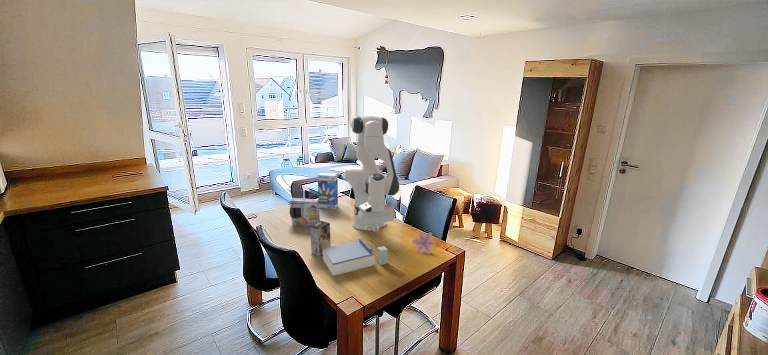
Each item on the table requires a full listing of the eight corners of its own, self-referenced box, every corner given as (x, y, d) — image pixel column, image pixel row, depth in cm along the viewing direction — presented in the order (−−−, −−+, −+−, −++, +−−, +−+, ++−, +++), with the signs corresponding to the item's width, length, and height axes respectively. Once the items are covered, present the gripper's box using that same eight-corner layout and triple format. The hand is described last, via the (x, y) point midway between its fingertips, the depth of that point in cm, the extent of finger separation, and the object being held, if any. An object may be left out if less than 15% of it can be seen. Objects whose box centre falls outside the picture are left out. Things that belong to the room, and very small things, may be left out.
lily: (408, 249, 179) (409, 239, 172) (421, 236, 185) (422, 226, 178) (426, 261, 174) (427, 252, 167) (438, 247, 180) (440, 238, 173)
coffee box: (322, 246, 178) (321, 220, 174) (331, 249, 175) (330, 222, 171) (310, 252, 171) (309, 225, 166) (319, 256, 168) (318, 228, 163)
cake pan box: (290, 224, 205) (288, 199, 200) (293, 221, 210) (291, 196, 205) (317, 227, 202) (316, 201, 197) (320, 224, 206) (319, 199, 202)
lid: (361, 241, 172) (361, 236, 171) (374, 254, 158) (374, 249, 157) (322, 249, 162) (322, 245, 161) (332, 264, 148) (332, 259, 148)
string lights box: (318, 208, 234) (317, 174, 227) (321, 204, 242) (320, 172, 235) (335, 209, 232) (334, 175, 225) (338, 205, 240) (337, 173, 233)
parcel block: (383, 259, 166) (384, 245, 163) (387, 263, 162) (387, 249, 160) (377, 261, 164) (377, 247, 162) (380, 265, 160) (380, 251, 158)
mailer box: (361, 251, 173) (361, 241, 172) (374, 265, 160) (374, 254, 158) (323, 260, 164) (322, 250, 162) (333, 276, 150) (332, 265, 148)
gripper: (391, 201, 168) (390, 225, 172) (356, 206, 159) (355, 231, 162) (397, 204, 163) (396, 229, 166) (361, 210, 153) (360, 236, 157)
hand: (375, 230), depth 164 cm, fingers closed
